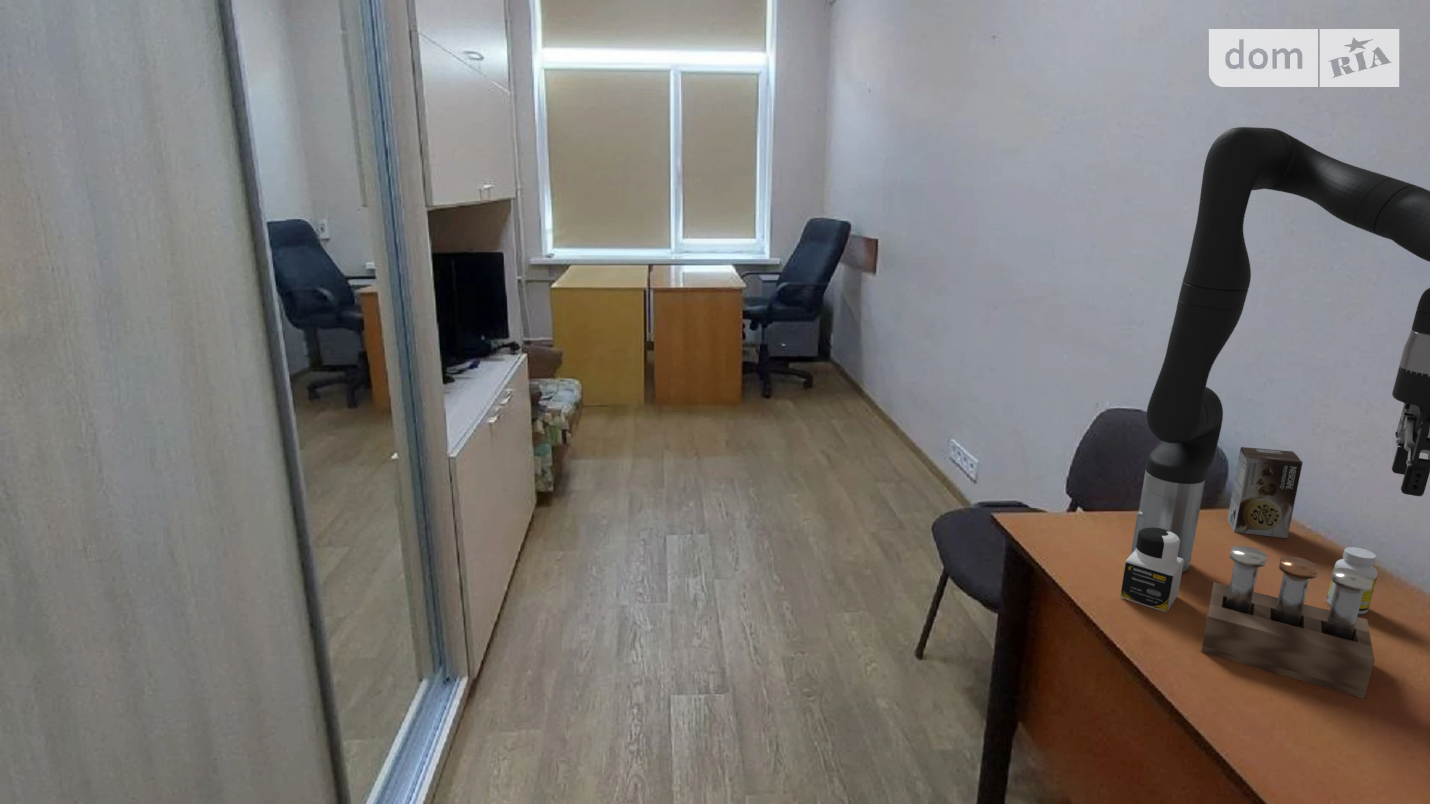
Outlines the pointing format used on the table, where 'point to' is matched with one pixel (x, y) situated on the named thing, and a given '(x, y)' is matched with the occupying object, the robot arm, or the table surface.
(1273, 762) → the table surface
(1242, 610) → the knob left
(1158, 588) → the medicine bottle
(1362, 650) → the mount
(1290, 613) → the copper and grey cylinder
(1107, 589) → the table surface
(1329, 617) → the knob right
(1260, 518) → the coffee box
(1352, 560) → the supplement bottle
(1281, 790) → the table surface
